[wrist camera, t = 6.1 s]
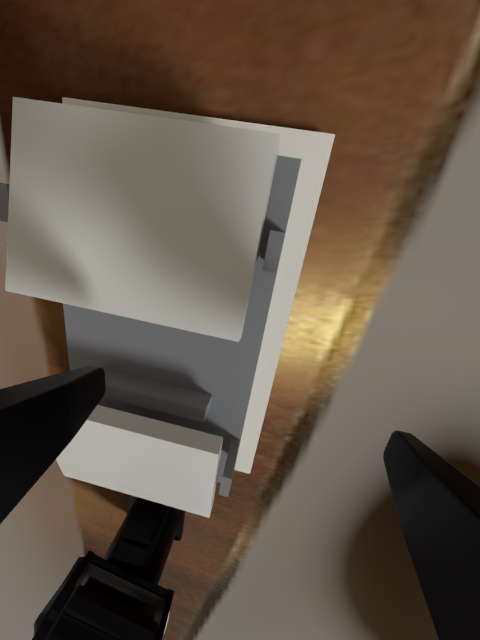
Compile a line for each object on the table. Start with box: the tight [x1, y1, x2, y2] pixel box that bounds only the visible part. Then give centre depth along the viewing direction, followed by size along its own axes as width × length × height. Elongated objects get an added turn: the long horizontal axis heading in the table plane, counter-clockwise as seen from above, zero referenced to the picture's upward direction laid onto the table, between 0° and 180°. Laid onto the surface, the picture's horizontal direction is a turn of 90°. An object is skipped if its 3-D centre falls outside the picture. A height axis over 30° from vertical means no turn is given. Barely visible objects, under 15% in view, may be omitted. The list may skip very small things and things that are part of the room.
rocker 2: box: [56, 405, 223, 518], centre depth 16 cm, size 8×11×2 cm
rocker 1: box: [5, 97, 280, 342], centre depth 11 cm, size 8×11×2 cm
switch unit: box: [0, 97, 335, 497], centre depth 17 cm, size 26×16×7 cm, turn 171°
